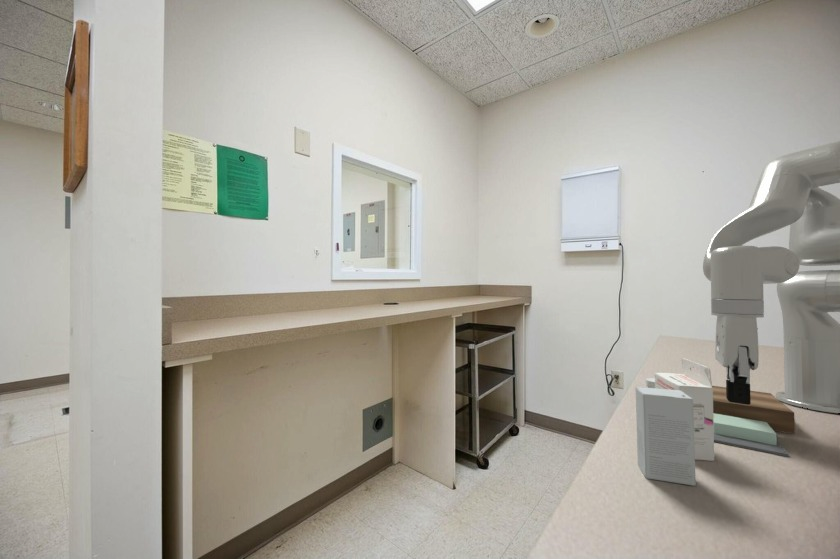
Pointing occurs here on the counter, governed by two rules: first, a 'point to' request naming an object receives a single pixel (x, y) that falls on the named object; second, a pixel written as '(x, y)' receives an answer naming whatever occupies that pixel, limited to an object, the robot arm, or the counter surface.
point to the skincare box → (665, 435)
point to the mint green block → (744, 429)
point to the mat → (751, 444)
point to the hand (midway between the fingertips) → (738, 402)
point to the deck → (756, 409)
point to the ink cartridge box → (695, 403)
